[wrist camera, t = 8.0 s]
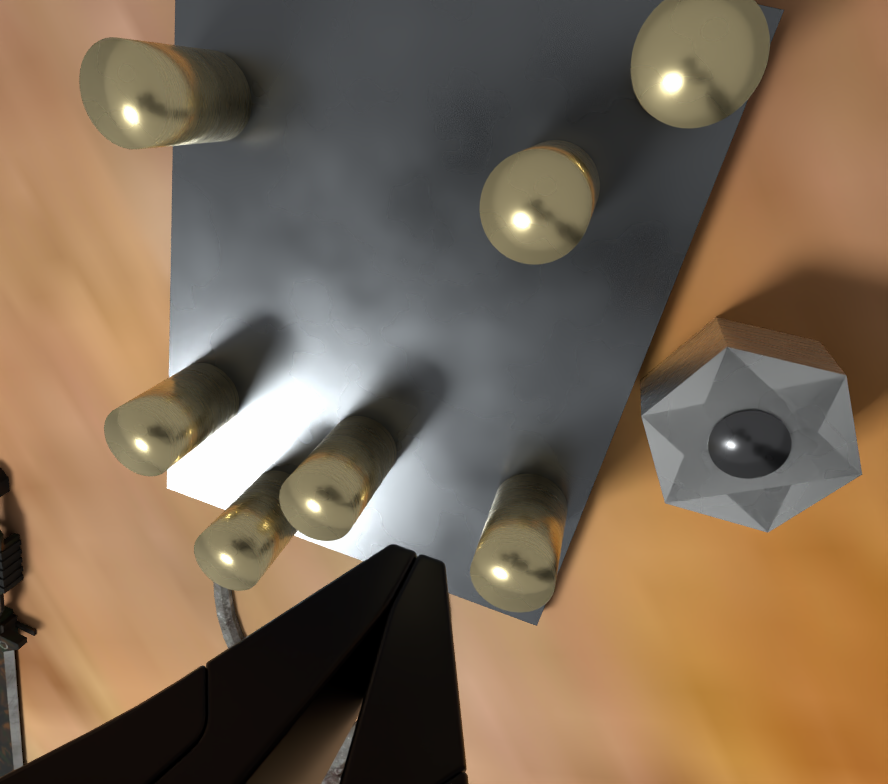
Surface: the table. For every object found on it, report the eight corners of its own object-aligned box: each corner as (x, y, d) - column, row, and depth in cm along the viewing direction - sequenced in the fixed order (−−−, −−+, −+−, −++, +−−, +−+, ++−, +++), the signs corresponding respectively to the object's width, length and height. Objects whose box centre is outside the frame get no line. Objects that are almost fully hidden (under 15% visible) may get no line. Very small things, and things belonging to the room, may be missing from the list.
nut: (871, 352, 16) (909, 391, 14) (799, 494, 18) (822, 549, 16) (665, 303, 17) (670, 334, 14) (617, 445, 19) (616, 490, 16)
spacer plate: (778, 13, 13) (829, -19, 10) (539, 613, 22) (520, 711, 18) (193, -114, 15) (63, -178, 12) (177, 479, 24) (97, 544, 20)
